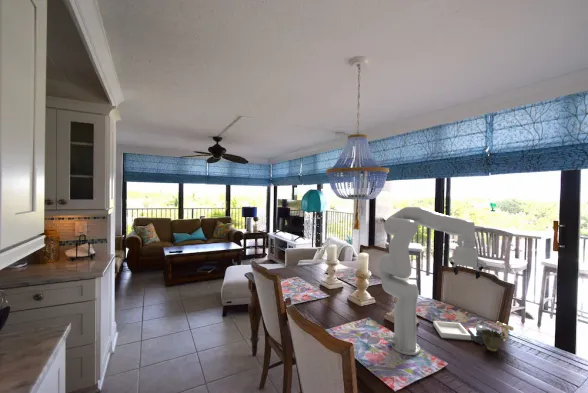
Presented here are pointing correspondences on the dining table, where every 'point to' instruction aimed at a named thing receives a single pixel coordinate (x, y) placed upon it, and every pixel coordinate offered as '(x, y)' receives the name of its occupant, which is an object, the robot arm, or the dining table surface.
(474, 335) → the crank base
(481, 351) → the dining table surface
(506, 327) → the crank
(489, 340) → the cup
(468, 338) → the tray
